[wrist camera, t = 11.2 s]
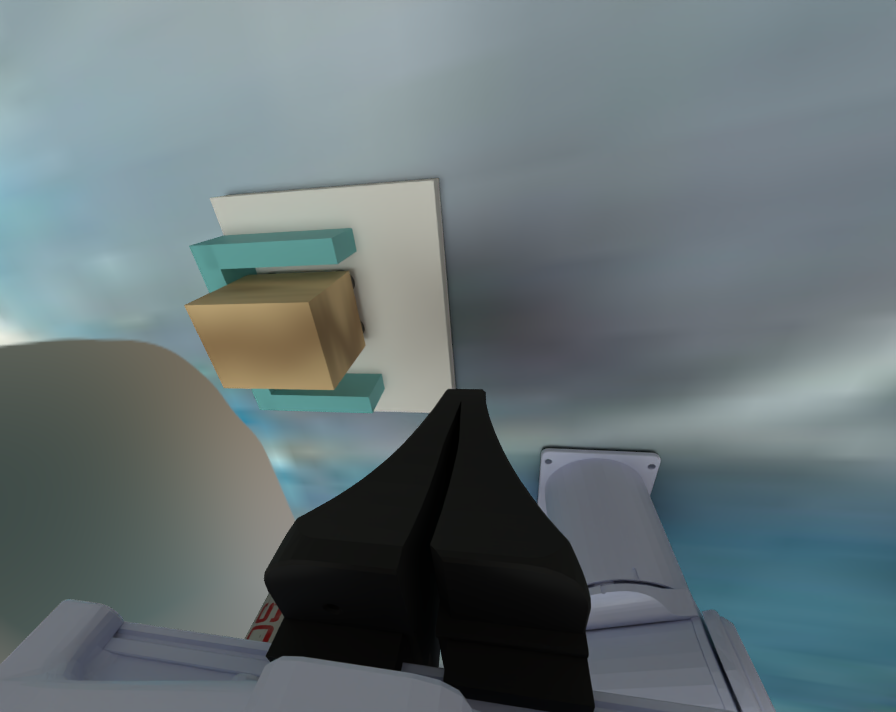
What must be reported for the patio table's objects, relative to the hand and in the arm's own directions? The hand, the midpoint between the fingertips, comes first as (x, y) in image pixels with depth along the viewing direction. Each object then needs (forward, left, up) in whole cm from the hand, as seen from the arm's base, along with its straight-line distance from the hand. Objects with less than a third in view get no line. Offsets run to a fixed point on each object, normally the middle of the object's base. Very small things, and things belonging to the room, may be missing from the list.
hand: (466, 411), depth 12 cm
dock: (0, +8, -10) cm, 13 cm away
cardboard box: (+1, +10, -8) cm, 13 cm away
